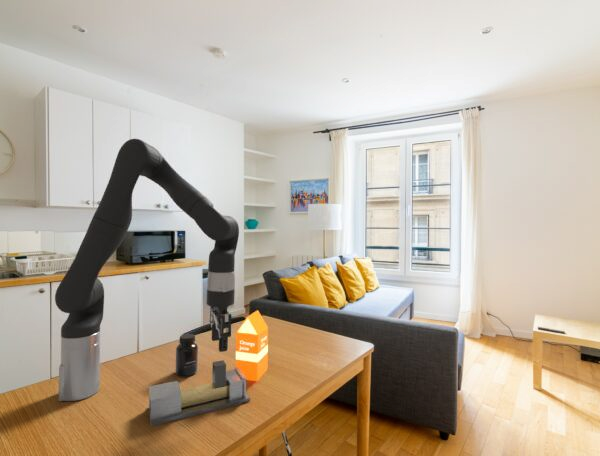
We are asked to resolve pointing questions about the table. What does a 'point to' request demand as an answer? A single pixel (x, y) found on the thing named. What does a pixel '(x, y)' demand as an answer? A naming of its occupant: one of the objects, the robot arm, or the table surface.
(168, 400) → the rail
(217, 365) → the block
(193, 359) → the supplement bottle
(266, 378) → the table surface
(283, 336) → the table surface
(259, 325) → the orange juice
